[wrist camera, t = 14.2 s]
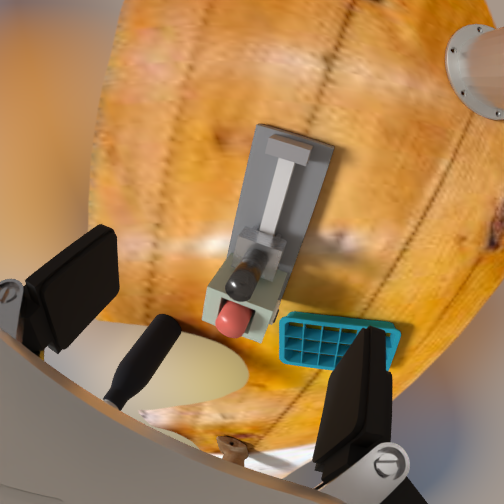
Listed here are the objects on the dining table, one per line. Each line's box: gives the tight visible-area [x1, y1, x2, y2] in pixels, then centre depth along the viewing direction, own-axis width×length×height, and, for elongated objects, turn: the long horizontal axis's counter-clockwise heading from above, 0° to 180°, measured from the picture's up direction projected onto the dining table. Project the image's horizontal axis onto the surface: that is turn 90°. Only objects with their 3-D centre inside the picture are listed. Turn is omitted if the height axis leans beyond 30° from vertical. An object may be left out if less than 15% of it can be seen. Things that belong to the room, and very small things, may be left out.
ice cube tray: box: [279, 311, 401, 371], centre depth 51 cm, size 12×20×3 cm, turn 93°
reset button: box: [215, 300, 254, 338], centre depth 42 cm, size 4×4×6 cm
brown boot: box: [217, 436, 248, 467], centre depth 81 cm, size 15×12×15 cm
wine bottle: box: [103, 314, 181, 411], centre depth 52 cm, size 6×6×30 cm
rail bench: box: [202, 124, 334, 343], centre depth 40 cm, size 10×26×10 cm, turn 167°
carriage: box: [225, 225, 287, 302], centre depth 40 cm, size 6×5×11 cm
